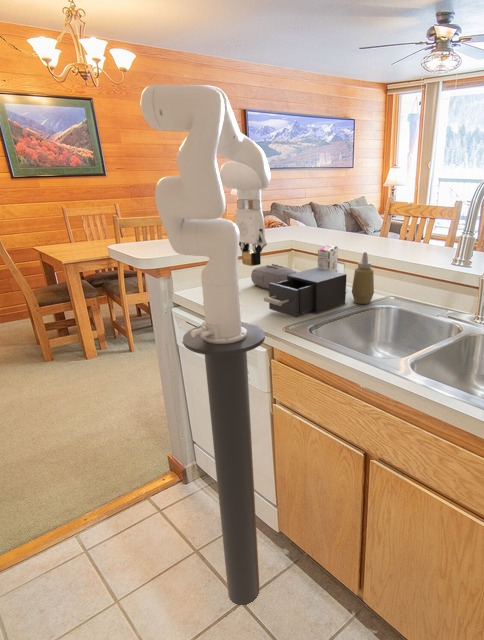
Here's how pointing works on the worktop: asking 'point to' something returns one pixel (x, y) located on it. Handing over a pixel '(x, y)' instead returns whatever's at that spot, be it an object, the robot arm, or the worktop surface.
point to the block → (247, 258)
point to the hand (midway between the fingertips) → (251, 263)
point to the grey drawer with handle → (291, 297)
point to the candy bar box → (328, 258)
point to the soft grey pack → (270, 275)
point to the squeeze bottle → (363, 282)
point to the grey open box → (324, 287)
